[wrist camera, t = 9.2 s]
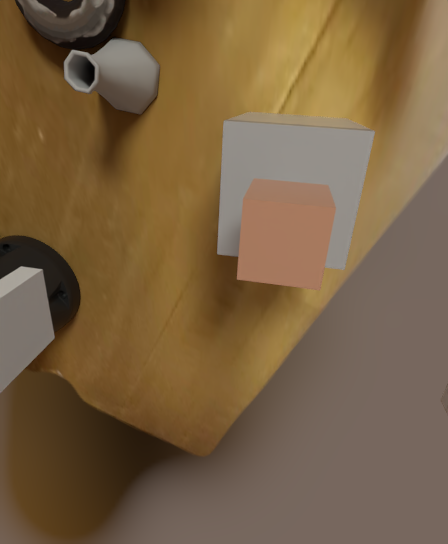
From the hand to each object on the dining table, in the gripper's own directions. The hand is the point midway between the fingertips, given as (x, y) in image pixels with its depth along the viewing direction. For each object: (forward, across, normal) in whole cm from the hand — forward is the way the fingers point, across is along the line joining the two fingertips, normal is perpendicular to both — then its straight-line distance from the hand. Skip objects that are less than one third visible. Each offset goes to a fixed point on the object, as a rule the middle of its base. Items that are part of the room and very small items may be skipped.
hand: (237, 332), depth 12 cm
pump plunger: (+28, -1, 0) cm, 28 cm away
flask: (+33, +17, -8) cm, 38 cm away
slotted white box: (+33, -1, 0) cm, 33 cm away
